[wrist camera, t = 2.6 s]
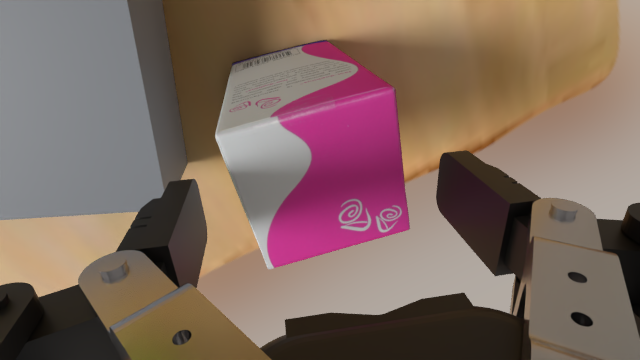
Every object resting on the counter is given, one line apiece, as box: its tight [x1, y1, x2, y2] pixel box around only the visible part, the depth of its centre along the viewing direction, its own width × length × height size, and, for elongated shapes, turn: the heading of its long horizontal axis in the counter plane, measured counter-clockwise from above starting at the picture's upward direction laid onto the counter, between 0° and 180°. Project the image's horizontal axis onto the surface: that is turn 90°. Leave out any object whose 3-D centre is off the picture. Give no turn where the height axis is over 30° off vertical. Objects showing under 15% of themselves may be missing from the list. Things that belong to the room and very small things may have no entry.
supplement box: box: [215, 40, 410, 269], centre depth 17 cm, size 6×6×12 cm
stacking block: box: [0, 0, 188, 220], centre depth 17 cm, size 12×12×6 cm
